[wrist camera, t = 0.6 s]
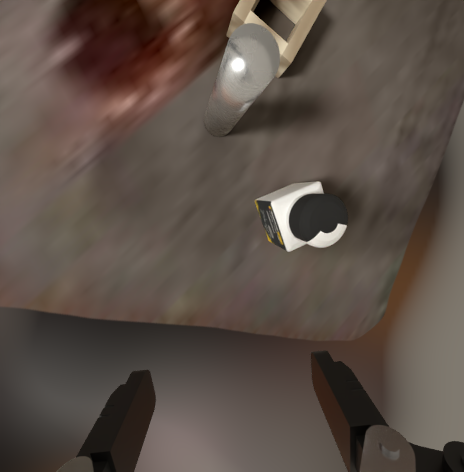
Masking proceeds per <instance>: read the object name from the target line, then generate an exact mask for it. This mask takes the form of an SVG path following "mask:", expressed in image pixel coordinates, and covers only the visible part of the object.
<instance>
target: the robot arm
mask: <svg viewBox="0 0 464 472" xmlns="http://www.w3.org/2000/svg"><path fill="white" fill-rule="evenodd" d="M311 372H312V383H313V387H314V391H315V393H316V396H317V398H318V401H319V403H320V406H321V408H322V410H323V413H324V415H325V418H326V420H327V422H328V425H329V427H330V429H331V432H332V435H333V437H334V439H335V442H336V444H337V447H338V449H339V451H340V454H341V456H342V458H343V461H344V463H345V466H346V468H347V470H348V472H464V443H463V442H458V441H452V442H448V443H447V444H446V445H445V446H444V449H443V451H439V450H434V449H429V448H426V447H421V446H418V445H414V444H412V443H410V442H408V441H407V440H406V439H405V438H404V437H403V436H402V435H401V434H400V433H399V432H397V431H396V430H394V429H392V428H390V427H389V426H388V425H387V423H386V422H385V420H384V419H383V417H382V415H381V414H380V412H379V411H378V409H377V408H376V407H375V405H374V403H373V402H372V400H371V399H370V397H369V396H368V394H367V393H366V391H365V390H364V389H363V387H362V385H361V384H360V382H359V381H358V379H357V378H356V376H355V375H354V373H353V372H352V370H351V369H350V368H349V367H348V366H346V365H345V364H344V363H342V362H341V361H338V362H334V361H333V359H332V358H331V356H330V354H329V353H328V351H318V352H311ZM155 402H156V396H155V391H154V386H153V382H152V378H151V373H150V371H149V370H141V371H133V372H132V373H131V374H130V377H129V378H128V380H127V382H126V384H123V385H120V386H119V387H118V388H117V389H116V390H115V391H114V392H113V393H112V394H111V396H110V398H109V399H108V401H107V403H106V405H105V408H104V409H103V410H102V412H101V414H100V416H99V418H98V419H97V421H96V423H95V424H94V426H93V428H92V430H91V432H90V433H89V435H88V437H87V439H86V440H85V442H84V444H83V446H82V448H81V449H80V451H79V453H78V455H77V456H76V458H74V459H72V460H70V461H69V462H67V463H66V464H65V465H63V466H62V467H61V468H60V469H59V470H58V471H57V472H134V470H135V467H136V464H137V461H138V458H139V455H140V452H141V449H142V446H143V443H144V439H145V437H146V434H147V431H148V428H149V424H150V421H151V418H152V415H153V412H154V408H155Z"/></svg>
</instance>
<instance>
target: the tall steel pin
mask: <svg viewBox="0 0 464 472" xmlns="http://www.w3.org/2000/svg"><path fill="white" fill-rule="evenodd" d="M279 64H280V51H279V47H278V44H277V42H276V40H275V38H274V36H273V35H272V34H271V33H270V32H269V31H268V30H267V29H266V28H265V27H263V26H261V25H259V24H255V23H247V24H243V25H241V26H239V27H238V28H237V29H235V31H234V32H233V33H232V34H231V36H230V38H229V41H228V44H227V47H226V50H225V53H224V56H223V60H222V63H221V66H220V69H219V72H218V75H217V78H216V82H215V85H214V88H213V91H212V94H211V97H210V100H209V103H208V107H207V110H206V113H205V116H204V125H205V127H206V129H207V131H208V132H209V133H210V134H211V135H213V136H216V137H223V136H225V135H227V134H228V133H229V132H230V131H231V129H232V128H233V127H234V126H235V124H236V123H237V122H238V121H239V120H240V118H241V117H242V116H243V115H244V113H245V112H246V111H247V110H248V109H249V107H250V106H251V105H252V104H253V102H254V101H255V100H256V99H257V97H258V96H259V95H260V94H261V93H262V91H263V90H264V89H265V88H266V86H267V85H268V84H269V83H270V81H271V80H272V79H273V78H274V76H275V75H276V73H277V71H278V68H279Z"/></svg>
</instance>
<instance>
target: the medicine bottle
mask: <svg viewBox="0 0 464 472" xmlns="http://www.w3.org/2000/svg"><path fill="white" fill-rule="evenodd" d="M255 203H256V206H257V209H258V212H259V215H260V217H261V220H262V223H263V226H264V229H265V232H266V234H267V237H268V240H269V241H270V242H272V243H274V244H275V245H277V246H279V247H281V248H283V249H284V250H286V251H288V252H289V251H292V250H294V249H296V248H299V247H301V246H303V245H305V244H309V245H312V246H314V247H319V248H322V247H328V246H330V245H332V244H334V243H335V242H337V241H338V240H339V239H340V238H341V236H342V235H343V233H344V232H345V229H346V227H347V222H348V214H347V209H346V207H345V205H344V203H343V202H342V200H341V199H339V198H338V197H337V196H335V195H332V194H324V192H323V189H322V185H321V182H319V181H317V182H305V183H293V184H291V185H289V186H286V187H284V188H282V189H279V190H277V191H274V192H272V193H270V194H267V195H265V196H263V197H260V198H258V199H256V200H255Z"/></svg>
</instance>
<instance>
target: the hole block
mask: <svg viewBox="0 0 464 472" xmlns="http://www.w3.org/2000/svg"><path fill="white" fill-rule="evenodd" d="M270 1H271V2H272V3H273V4H274V5H275V6H276V7H277V8H278V9H279V10H280V11H281V12H283V13H284V14H285V15H286V16H287V17H288V18H289V19H290V20H291V21H292V22H293V23H294V24H295V27H294V29H293V30H292V32H291V34H290V36H289V38H288V39H287V41H284V40H283V39H282V38H281V37H280V36H279V35H278V34H277V33H275V32H274V31H273V30H272V29H271V28H270V27H269V26H268V25H267V24H265V23H264V22H263V21H262V20H261V19H260V18H259V17H258V16H256V15H255V14H254V13H253V11H254V10H255V8H256V6H257V4H258V2H259V0H240V1H239V3H238V5H237V7H236V9H235V10H234V12H233V15H232V19H231V22H230V26H229V29H228V32H227V36H228V37H229V38H230V36H231V34H232V33H233V32H234V31H235V29H237V28H238V27H239V26H241V25H243V24H247V23H255V24H259V25H261V26H263V27H265V28H266V29H267V30H268V31H269V32H270V33H271V34H272V35H273V36H274V38H275V40H276V42H277V44H278V47H279V51H280V64H279V68H278V71H277V73H276V75H275V76H276V77H277V78H279V77H280V76H281V75H282V73H283V72H284V71H285V70H286V69H287V68H288V66H289V65H290V64H291V63H292V61H293V59H294V57H295V56H296V54H297V52H298V50H299V49H300V47H301V45H302V43H303V41H304V40H305V38H306V36H307V34H308V32H309V31H310V29H311V27H312V25H313V23H314V22H315V20H316V18H317V16H318V14H319V13H320V11H321V9H322V7H323V6H324V4H325V2H326V0H270Z"/></svg>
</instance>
